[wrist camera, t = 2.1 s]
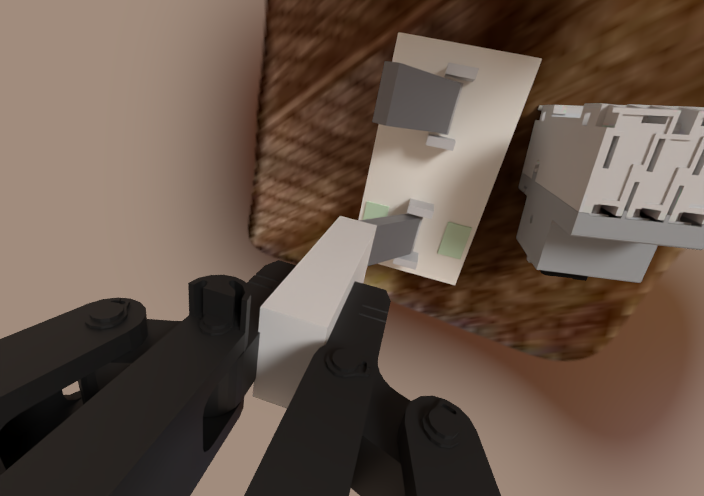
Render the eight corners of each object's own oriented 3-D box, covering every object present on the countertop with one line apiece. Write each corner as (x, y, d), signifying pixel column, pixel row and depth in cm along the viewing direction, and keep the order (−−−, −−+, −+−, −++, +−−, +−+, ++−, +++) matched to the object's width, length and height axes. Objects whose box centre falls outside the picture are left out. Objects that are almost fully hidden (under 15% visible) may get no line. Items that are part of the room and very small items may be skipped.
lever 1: (453, 82, 28) (385, 59, 22) (467, 84, 27) (400, 60, 22) (439, 132, 30) (371, 123, 24) (452, 135, 29) (385, 127, 23)
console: (403, 42, 32) (395, 24, 26) (526, 65, 31) (552, 53, 24) (359, 240, 42) (345, 265, 35) (452, 265, 40) (456, 297, 33)
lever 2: (416, 211, 33) (341, 221, 27) (427, 216, 33) (352, 228, 26) (405, 247, 35) (332, 266, 28) (415, 253, 34) (343, 273, 28)
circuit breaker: (505, 240, 38) (544, 312, 24) (538, 105, 32) (615, 102, 19) (576, 248, 36) (661, 330, 23) (625, 109, 31) (775, 109, 17)
